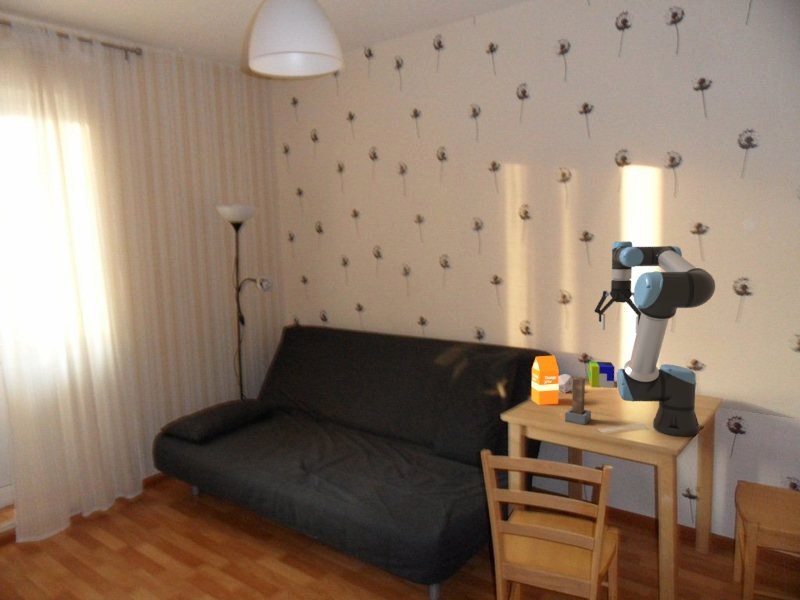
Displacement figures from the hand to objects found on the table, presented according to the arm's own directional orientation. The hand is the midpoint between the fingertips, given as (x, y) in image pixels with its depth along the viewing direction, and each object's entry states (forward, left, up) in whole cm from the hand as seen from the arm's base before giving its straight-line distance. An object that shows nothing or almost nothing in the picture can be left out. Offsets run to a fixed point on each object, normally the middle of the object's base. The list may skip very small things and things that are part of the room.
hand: (619, 331), depth 230 cm
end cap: (-12, +25, -32) cm, 42 cm away
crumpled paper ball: (+26, +10, -32) cm, 42 cm away
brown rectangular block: (-12, +25, -31) cm, 42 cm away
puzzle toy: (+32, -12, -32) cm, 47 cm away
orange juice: (+14, +26, -32) cm, 43 cm away
